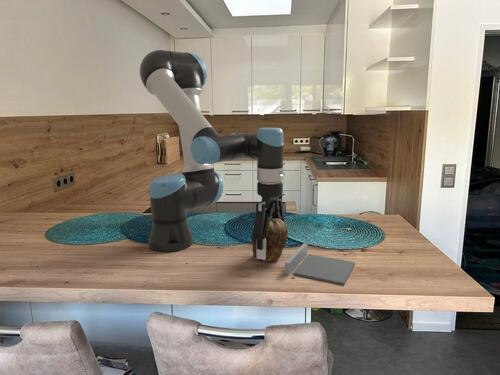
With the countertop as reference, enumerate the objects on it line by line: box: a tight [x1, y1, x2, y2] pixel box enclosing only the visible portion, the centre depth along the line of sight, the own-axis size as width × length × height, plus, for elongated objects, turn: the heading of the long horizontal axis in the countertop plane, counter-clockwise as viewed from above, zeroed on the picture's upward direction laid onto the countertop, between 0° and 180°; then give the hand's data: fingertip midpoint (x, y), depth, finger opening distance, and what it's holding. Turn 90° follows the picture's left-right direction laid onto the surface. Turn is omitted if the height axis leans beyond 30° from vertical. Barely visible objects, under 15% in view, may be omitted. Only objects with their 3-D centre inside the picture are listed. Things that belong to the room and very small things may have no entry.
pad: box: [292, 253, 356, 286], centre depth 102 cm, size 14×14×1 cm
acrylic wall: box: [284, 242, 309, 276], centre depth 105 cm, size 1×16×4 cm, turn 153°
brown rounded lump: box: [250, 217, 289, 262], centre depth 108 cm, size 11×11×12 cm
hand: (269, 251), depth 109 cm, fingers closed on brown rounded lump, 11 cm apart
